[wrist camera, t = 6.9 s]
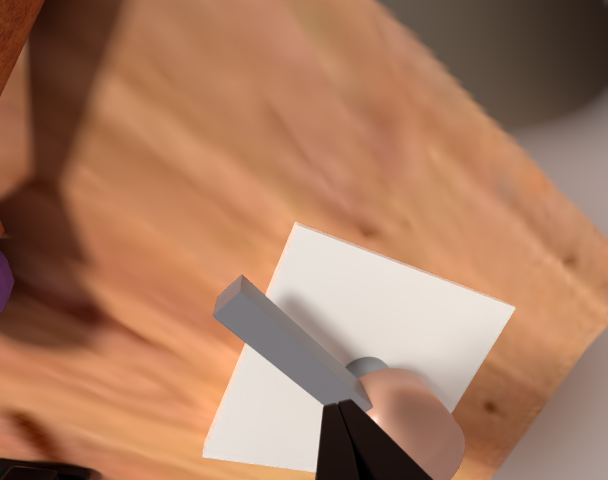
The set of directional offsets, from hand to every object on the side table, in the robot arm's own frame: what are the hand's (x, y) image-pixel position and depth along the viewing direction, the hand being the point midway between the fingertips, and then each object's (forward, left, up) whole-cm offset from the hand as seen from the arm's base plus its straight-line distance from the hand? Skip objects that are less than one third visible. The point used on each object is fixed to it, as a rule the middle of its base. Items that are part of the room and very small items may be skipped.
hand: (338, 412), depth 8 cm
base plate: (-6, -8, -11) cm, 15 cm away
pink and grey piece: (-4, -4, -7) cm, 9 cm away
